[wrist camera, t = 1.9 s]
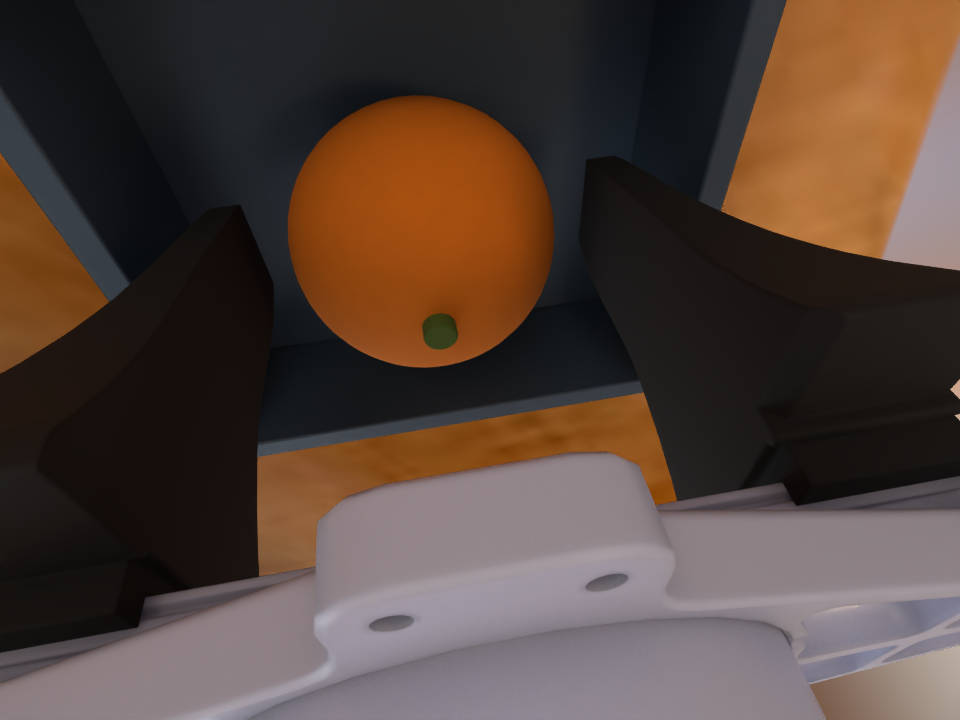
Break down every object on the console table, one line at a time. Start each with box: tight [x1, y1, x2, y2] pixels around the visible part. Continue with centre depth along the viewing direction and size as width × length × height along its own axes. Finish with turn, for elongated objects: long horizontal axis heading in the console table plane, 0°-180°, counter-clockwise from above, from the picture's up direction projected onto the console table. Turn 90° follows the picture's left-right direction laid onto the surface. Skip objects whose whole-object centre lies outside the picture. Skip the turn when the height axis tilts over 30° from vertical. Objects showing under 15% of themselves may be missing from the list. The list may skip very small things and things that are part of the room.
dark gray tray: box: [0, 0, 787, 457], centre depth 12 cm, size 12×11×4 cm
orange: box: [288, 95, 555, 367], centre depth 11 cm, size 5×5×6 cm
